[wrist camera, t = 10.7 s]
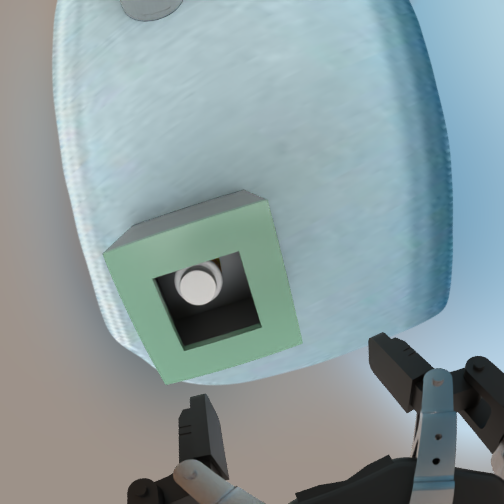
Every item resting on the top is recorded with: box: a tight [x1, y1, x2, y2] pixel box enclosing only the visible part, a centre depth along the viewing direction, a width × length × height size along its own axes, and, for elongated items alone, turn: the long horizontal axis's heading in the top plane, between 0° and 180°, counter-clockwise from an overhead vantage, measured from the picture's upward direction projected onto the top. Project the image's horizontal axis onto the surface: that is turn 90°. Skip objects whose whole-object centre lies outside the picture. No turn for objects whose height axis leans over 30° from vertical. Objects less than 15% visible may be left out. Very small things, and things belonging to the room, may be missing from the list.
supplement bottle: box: [174, 258, 223, 305], centre depth 36 cm, size 6×6×10 cm
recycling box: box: [103, 190, 303, 385], centre depth 35 cm, size 16×16×14 cm
